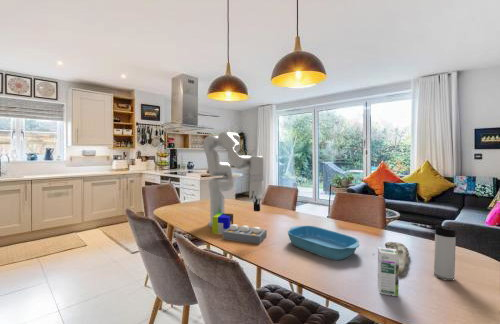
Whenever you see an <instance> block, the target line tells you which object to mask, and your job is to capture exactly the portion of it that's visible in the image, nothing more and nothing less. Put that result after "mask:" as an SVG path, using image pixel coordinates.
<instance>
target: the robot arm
mask: <svg viewBox="0 0 500 324" xmlns="http://www.w3.org/2000/svg"><path fill="white" fill-rule="evenodd" d="M240 142H241V138H240V135H239V134H238V133H237V132H233V131H231V132H230V131H222V132H220V133H219V135H209V136H206V137H205V138H204V140H203V145H202V148H203V152H204V153H205V156H206V162H207V168H208V169H207V170H208V173H209V175H210V176H212V177H215V178H211V179H210V180H209V181H208V189H209V190H208V191H209V200H210V202H209V210H210V211H209V214H210V215H209V216H210V219H209V222H208V223H207V226H208V227H211V228H213V216H215V215H216V214H217V213H225V208H226V207H225V197H224V195H223V193H222V192H229V191H230V192H231V191H232V190H233V188H234V186H235V185H234V176H233V171H232V167H231V165H232V166H233V167H234V168H235V169H237V170H238V169H239V170H245V169H249V181H250V182H249V193H248V194H249V196H248V197H249V199H250V200H252V203H253V212H261V199H262V197H263V196H264V187H263V186H264V185H263V181H264V157H263V156H262V155H239V154H238V153H239V152H240V150H241V144H240ZM216 149H225V150H226V151H227V158H228V160H229V161H228V162H226V161H221V160H220V159H221V158H220V155H219V153H218V151H217V150H216ZM229 162H230V163H229ZM230 164H231V165H230Z"/></svg>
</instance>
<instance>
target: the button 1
mask: <svg viewBox="0 0 500 324" xmlns="http://www.w3.org/2000/svg"><path fill="white" fill-rule="evenodd" d="M238 227H239V224H236V223H233V224H231V225H230V231H237V230H238Z"/></svg>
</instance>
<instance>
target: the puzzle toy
mask: <svg viewBox="0 0 500 324" xmlns="http://www.w3.org/2000/svg"><path fill="white" fill-rule="evenodd" d="M231 224H234V213H217V214H216V215H215V216H213V227H212V234H215V235H223V231H225V230H226V229H228V228H229V227H230V225H231Z"/></svg>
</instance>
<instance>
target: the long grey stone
mask: <svg viewBox="0 0 500 324" xmlns="http://www.w3.org/2000/svg"><path fill="white" fill-rule="evenodd" d="M384 246H385V248H388V249H396V250H397V252H398V254H399V276H401V277H403V276H402V275H405V273H406V272H407V270H408V268H409V267H410V266H409V257H410V253H409V250H408V248H407V247H406V245H405V244H403V243H401V242H396V241H395V242H394V241H389V242H388V241H387V242H385V244H384Z"/></svg>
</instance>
